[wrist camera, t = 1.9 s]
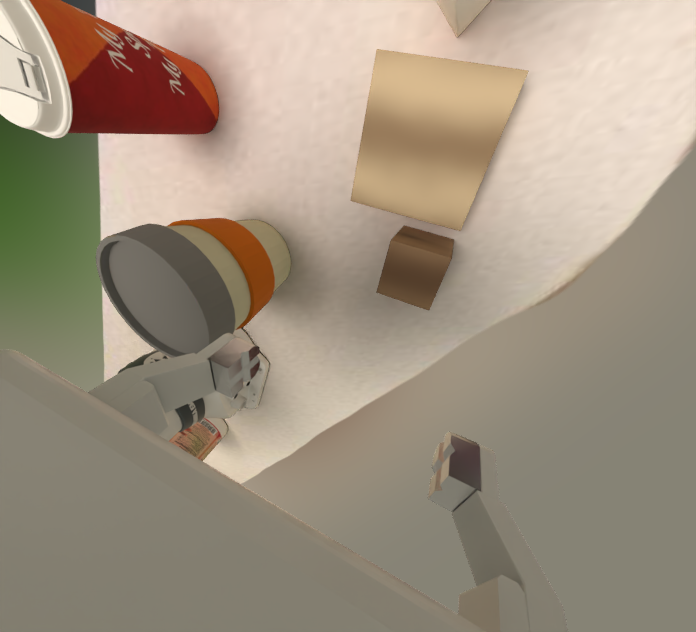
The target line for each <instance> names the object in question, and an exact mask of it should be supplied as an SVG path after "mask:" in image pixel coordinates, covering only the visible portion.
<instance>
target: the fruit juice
mask: <svg viewBox="0 0 696 632" xmlns="http://www.w3.org/2000/svg"><path fill="white" fill-rule="evenodd" d="M189 428H190V429H191V430H192V431H191V432H190V431H185V430H184V431H183V432H184V433H186V434H187V436H185V435H183V434H181V433H179V432H178V433H177V434H176V435H175V436H174V437H173V438H172V439H171V440H170V441H169V442H171V443H173V444H174V445H176V446H178V447H179V448H181V449H183V450H184V451H186V452H188V453H189V454H191V455H193V456H194V457H196V458H198V459H199V460H201V461H203V460H204V459H205V458H206V457H207V456H208V454H209V453H210V452H211V451H212V450H213V449H214V447H215V446H216V445H217V444H218V443H219V442H220V441H221V439H222V438H223V437H224V436H225V434H226V433H227V431H228V428H227V425H226V423H225V422H224V420H223V419H220V418H203V419H202V420H200V421H198V422H197V423H196V424H194V425H193V426H191V427H189Z"/></svg>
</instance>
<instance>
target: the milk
mask: <svg viewBox="0 0 696 632" xmlns="http://www.w3.org/2000/svg"><path fill="white" fill-rule="evenodd" d="M436 1H437V3H438V5H439V7H440V8H441V10H442V12H443V14H444V16H445V17H446V19H447V21H448V23H449V25H450V26H451V28H452V30H453V32H454V33H455V35H456V37H458V36H459V35H460V34H461V33H462V32H463V31H464V30H465V29H466V28H467V26H468V25H469V24H470V23H471V22H472V21H473V20H474V19H475V18H476V16H477V15H478V14H479V13H480V12H481V11H482V10H483V9H484V8H485V6H486V5H487V4H488V3H489V2H490V1H491V0H436Z"/></svg>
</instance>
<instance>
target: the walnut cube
mask: <svg viewBox="0 0 696 632" xmlns="http://www.w3.org/2000/svg"><path fill="white" fill-rule="evenodd" d="M453 244H454V239H450V238H447V237H443V236H440V235H436V234H433V233H429V232H426V231H422V230H419V229H415V228H411V227H408V226H403V227H402V228H401V230H400V231H399V232H398V233H397V234H396V235H395V236H394V237H393V238H392V239H391V241H390V245H389V249H388V252H387V256H386V259H385V263H384V267H383V270H382V274H381V277H380V281H379V285H378V288H377V293H380V294H382V295H385V296H388V297H391V298H394V299H397V300H400V301H403V302H406V303H408V304H411V305H414V306H417V307H420V308H423V309H426V310H430V307H431V305H432V303H433V300H434V298H435V296H436V293H437V291H438V289H439V286H440V284H441V282H442V280H443V277H444V275H445V273H446V270H447V268H448V266H449V263H450V261H451V259H452V252H453Z"/></svg>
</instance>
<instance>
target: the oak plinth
mask: <svg viewBox="0 0 696 632" xmlns="http://www.w3.org/2000/svg"><path fill="white" fill-rule="evenodd" d="M527 74H528V71H527V70H520V69H513V68H506V67H499V66H492V65H485V64H478V63H471V62H464V61H457V60H450V59H443V58H436V57H429V56H422V55H415V54H408V53H401V52H394V51H387V50H380V49H377V51H376V57H375V63H374V68H373V74H372V80H371V86H370V92H369V97H368V103H367V109H366V115H365V121H364V126H363V132H362V138H361V144H360V150H359V155H358V161H357V167H356V173H355V179H354V184H353V190H352V196H351V201H353V202H356V203H360V204H364V205H367V206H371V207H375V208H378V209H382V210H386V211H389V212H393V213H396V214H400V215H404V216H407V217H411V218H415V219H418V220H422V221H425V222H429V223H433V224H436V225H440V226H444V227H447V228H451V229H454V230H458V231H461V228H462V226H463V224H464V221H465V219H466V217H467V214H468V212H469V209H470V207H471V205H472V202H473V200H474V198H475V195H476V193H477V191H478V188H479V186H480V184H481V181H482V179H483V177H484V174H485V172H486V170H487V167H488V165H489V163H490V160H491V158H492V156H493V153H494V151H495V149H496V146H497V144H498V142H499V139H500V137H501V135H502V132H503V130H504V128H505V125H506V123H507V120H508V118H509V116H510V113H511V111H512V109H513V106H514V104H515V102H516V99H517V97H518V95H519V92H520V90H521V88H522V85H523V83H524V81H525V78H526V76H527Z"/></svg>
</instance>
